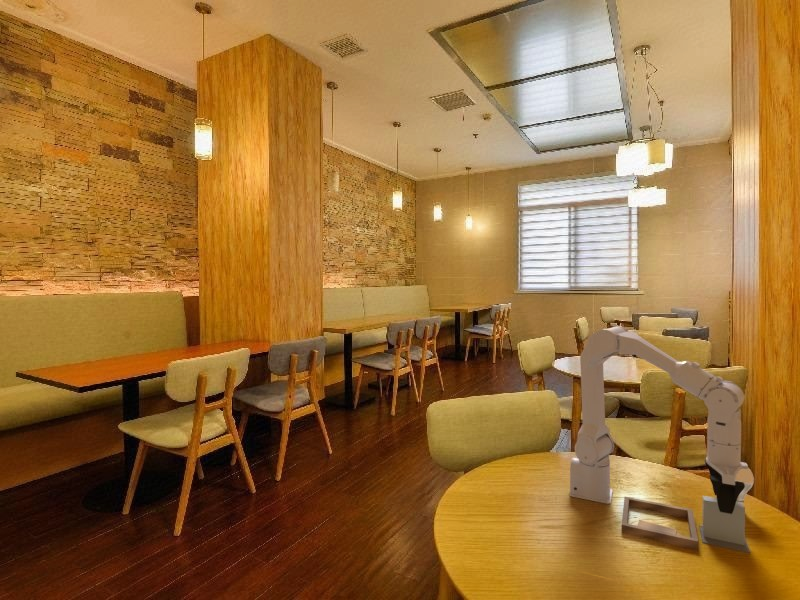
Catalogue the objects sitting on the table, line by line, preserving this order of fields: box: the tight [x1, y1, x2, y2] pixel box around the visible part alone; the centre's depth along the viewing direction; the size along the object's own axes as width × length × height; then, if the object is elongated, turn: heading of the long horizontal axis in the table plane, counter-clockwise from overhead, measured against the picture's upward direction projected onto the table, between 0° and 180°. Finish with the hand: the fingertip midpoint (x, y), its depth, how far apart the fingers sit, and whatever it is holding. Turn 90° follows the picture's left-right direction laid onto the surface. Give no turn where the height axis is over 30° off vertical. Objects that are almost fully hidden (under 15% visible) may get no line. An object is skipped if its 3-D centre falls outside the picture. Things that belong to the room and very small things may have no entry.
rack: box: [621, 496, 699, 551], centre depth 100 cm, size 14×14×2 cm
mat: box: [698, 525, 751, 554], centre depth 94 cm, size 8×7×1 cm
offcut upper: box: [636, 519, 678, 534], centre depth 97 cm, size 7×3×1 cm, turn 54°
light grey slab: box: [702, 495, 746, 545], centre depth 94 cm, size 7×2×8 cm, turn 61°
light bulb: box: [735, 467, 755, 505], centre depth 105 cm, size 7×7×12 cm
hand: (723, 503), depth 94 cm, fingers open, 7 cm apart
